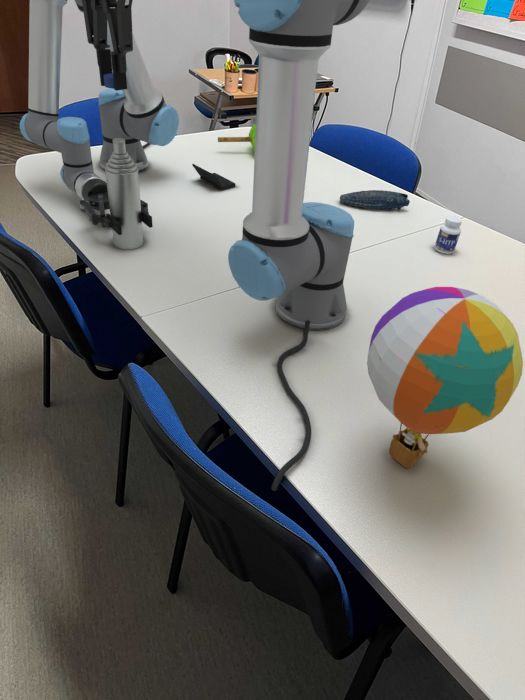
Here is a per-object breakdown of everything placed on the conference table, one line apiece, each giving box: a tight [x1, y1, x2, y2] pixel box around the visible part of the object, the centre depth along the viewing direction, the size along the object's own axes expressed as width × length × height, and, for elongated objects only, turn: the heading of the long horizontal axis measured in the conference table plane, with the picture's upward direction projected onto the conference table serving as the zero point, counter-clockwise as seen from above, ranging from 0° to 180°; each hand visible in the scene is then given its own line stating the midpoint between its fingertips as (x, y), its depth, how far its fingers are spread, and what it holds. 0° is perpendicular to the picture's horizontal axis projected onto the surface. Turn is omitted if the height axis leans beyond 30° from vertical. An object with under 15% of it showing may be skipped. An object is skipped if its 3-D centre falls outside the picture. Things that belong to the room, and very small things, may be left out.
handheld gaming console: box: [191, 163, 236, 191], centre depth 163 cm, size 12×7×10 cm
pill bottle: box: [434, 215, 463, 255], centre depth 137 cm, size 5×5×9 cm
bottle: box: [104, 138, 144, 250], centre depth 123 cm, size 7×7×25 cm
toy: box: [366, 286, 524, 469], centre depth 73 cm, size 20×20×30 cm
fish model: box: [339, 189, 411, 211], centre depth 158 cm, size 7×21×5 cm, turn 84°
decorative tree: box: [217, 123, 256, 152], centre depth 187 cm, size 18×10×30 cm
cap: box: [103, 73, 114, 89], centre depth 107 cm, size 4×4×2 cm
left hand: (135, 225), depth 124 cm, fingers closed on bottle, 7 cm apart
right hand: (114, 86), depth 108 cm, fingers closed on cap, 4 cm apart
